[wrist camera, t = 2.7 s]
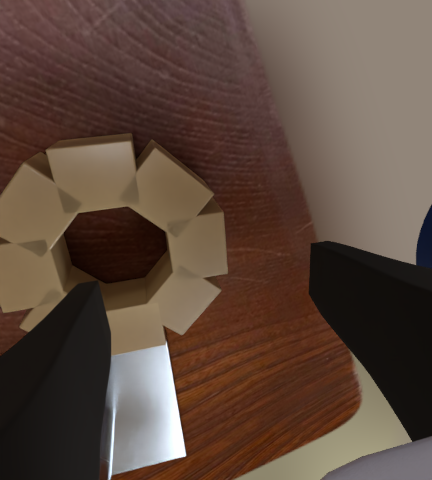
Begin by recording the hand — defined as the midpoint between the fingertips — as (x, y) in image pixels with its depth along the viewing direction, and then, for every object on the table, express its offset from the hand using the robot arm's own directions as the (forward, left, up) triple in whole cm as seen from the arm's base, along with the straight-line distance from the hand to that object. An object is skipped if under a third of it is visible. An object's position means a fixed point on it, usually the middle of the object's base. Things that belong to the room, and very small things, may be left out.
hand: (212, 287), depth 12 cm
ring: (+3, 0, -6) cm, 6 cm away
